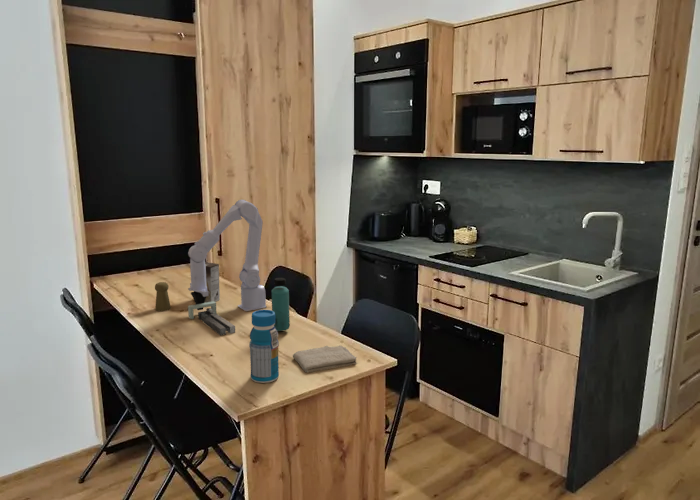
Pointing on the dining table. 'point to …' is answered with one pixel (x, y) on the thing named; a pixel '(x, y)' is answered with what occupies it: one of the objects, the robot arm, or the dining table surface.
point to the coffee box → (212, 282)
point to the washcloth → (324, 358)
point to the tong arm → (222, 321)
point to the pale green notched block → (202, 305)
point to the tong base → (211, 323)
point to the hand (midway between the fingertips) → (200, 309)
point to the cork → (162, 297)
